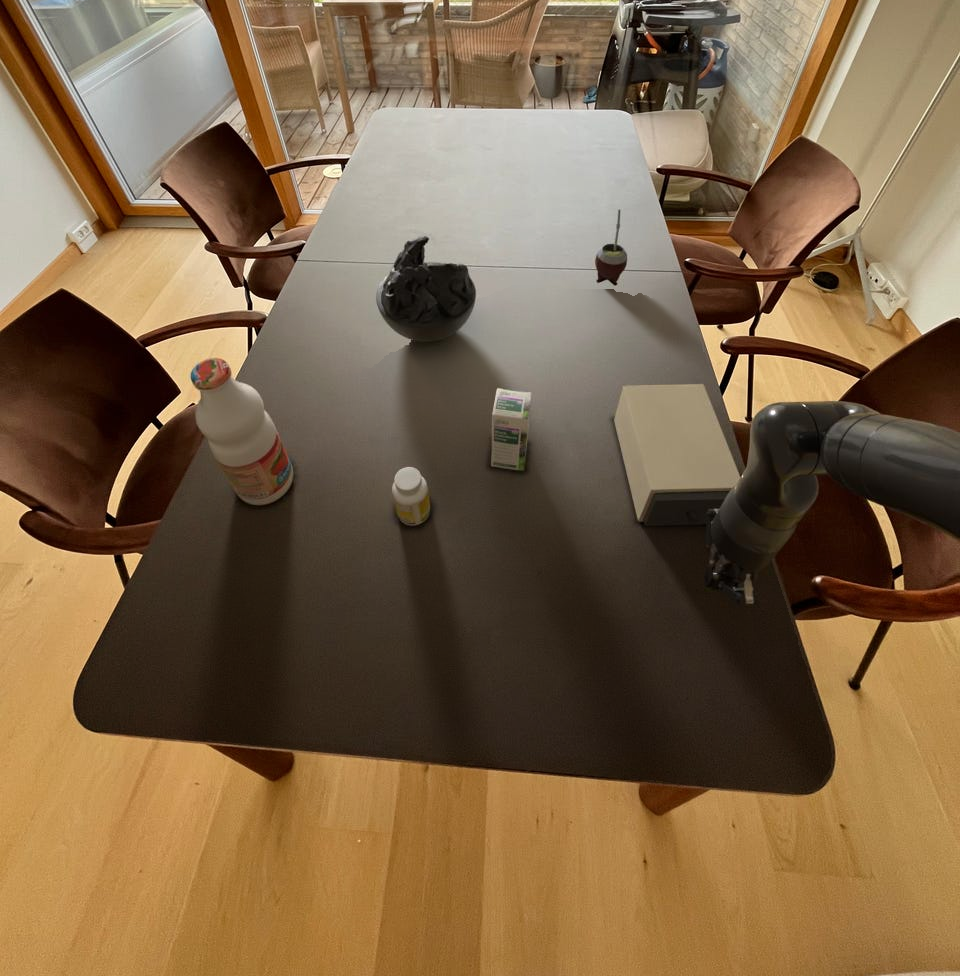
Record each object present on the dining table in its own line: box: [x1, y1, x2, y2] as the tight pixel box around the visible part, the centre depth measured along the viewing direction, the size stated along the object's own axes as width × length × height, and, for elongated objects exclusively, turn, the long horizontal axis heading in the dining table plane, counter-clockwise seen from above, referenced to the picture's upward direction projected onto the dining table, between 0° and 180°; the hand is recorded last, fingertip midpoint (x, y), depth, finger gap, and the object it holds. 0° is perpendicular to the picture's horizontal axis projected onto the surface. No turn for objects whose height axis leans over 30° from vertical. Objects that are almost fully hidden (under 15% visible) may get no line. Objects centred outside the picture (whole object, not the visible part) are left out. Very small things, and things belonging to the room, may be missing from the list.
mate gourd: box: [594, 209, 628, 286], centre depth 128 cm, size 8×8×15 cm
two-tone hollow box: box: [643, 491, 729, 527], centre depth 92 cm, size 20×13×8 cm, turn 2°
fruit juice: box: [190, 357, 294, 506], centre depth 85 cm, size 9×9×28 cm
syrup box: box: [490, 387, 533, 472], centre depth 94 cm, size 6×6×14 cm
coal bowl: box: [375, 235, 477, 343], centre depth 114 cm, size 20×20×19 cm
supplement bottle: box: [391, 466, 431, 526], centre depth 88 cm, size 5×5×10 cm
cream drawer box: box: [613, 383, 741, 523], centre depth 94 cm, size 20×14×10 cm
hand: (712, 582), depth 78 cm, fingers closed
